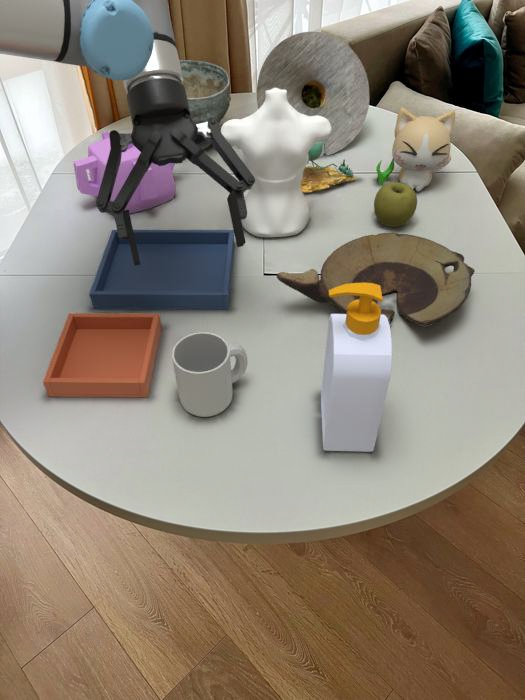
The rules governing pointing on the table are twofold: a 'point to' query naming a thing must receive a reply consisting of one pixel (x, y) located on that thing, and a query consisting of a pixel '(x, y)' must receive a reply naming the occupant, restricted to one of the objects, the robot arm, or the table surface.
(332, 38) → the disc
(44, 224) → the table surface
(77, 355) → the terracotta tray
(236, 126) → the torso sculpture
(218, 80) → the bowl
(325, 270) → the pottery shard
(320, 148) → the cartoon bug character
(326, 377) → the soap bottle
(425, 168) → the kitten
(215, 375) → the cup
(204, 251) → the blue tray
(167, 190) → the teakettle
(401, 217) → the apple
